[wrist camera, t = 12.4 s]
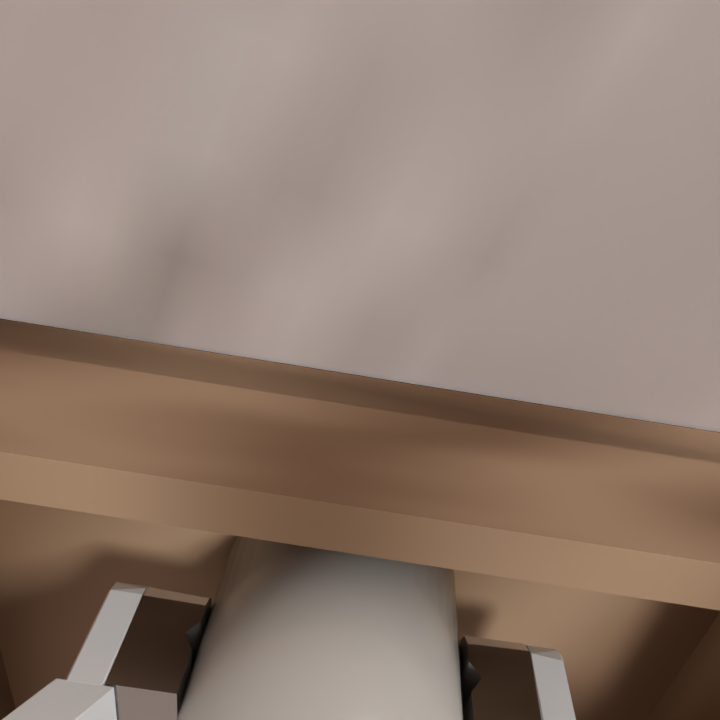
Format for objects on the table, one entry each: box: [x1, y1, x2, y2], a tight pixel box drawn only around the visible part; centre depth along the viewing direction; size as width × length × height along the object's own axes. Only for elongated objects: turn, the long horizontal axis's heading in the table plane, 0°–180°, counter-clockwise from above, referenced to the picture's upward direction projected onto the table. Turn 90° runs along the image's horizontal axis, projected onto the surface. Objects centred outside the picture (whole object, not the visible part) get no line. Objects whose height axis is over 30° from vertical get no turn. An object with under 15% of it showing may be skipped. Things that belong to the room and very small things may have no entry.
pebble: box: [177, 536, 464, 720], centre depth 10 cm, size 4×4×4 cm
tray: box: [0, 319, 720, 720], centre depth 12 cm, size 15×14×3 cm
